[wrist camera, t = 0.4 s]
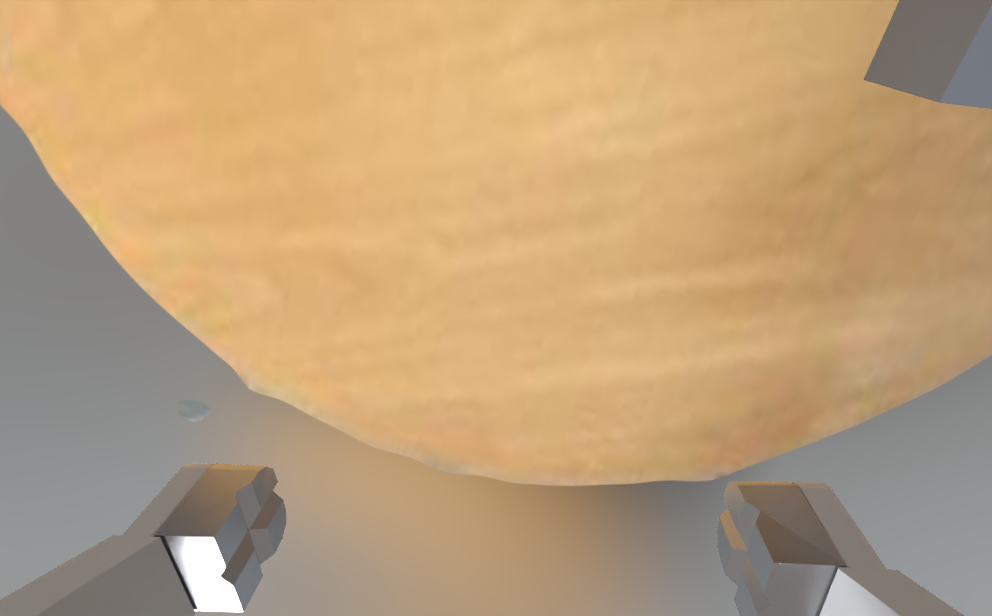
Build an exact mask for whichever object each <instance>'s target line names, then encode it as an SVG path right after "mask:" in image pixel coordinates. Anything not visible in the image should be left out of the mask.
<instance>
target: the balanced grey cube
mask: <svg viewBox="0 0 992 616" xmlns="http://www.w3.org/2000/svg"><path fill="white" fill-rule="evenodd" d="M864 80H866V81H870V82H873V83H876V84H880V85H883V86H886V87H890V88H893V89H896V90H899V91H903V92H906V93H909V94H913V95H916V96H919V97H923V98H926V99H929V100H933V101H936V102H939V103H948V104H956V105H964V106H973V107H981V108H989V109H992V0H900V1H899V3H898V6H897V8H896V10H895V12H894V14H893V17H892V19H891V21H890V23H889V25H888V28H887V30H886V32H885V34H884V36H883V39H882V41H881V43H880V45H879V47H878V50H877V52H876V54H875V56H874V58H873V61H872V63H871V65H870V67H869V69H868V72H867V74H866V76H865V78H864Z"/></svg>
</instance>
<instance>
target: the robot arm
mask: <svg viewBox="0 0 992 616" xmlns="http://www.w3.org/2000/svg"><path fill="white" fill-rule="evenodd" d="M277 483H278V481H277V479H276V476H275V473H274V470H273V469H272V468H269V467H265V466H248V465H231V464H204V463H190V464H188V465H185V466H183V467H182V468H181V469H180V470H179V471H178V472H177V473H176V474H175V475H174V477H173V478H172V479H171V480H170V481H169V482H168V483H167V485H166V486H165V487H164V488H163V489H162V490H161V491H160V493H159V494H158V495H157V496H156V497H155V498H154V499H153V500H152V502H151V503H150V504H149V505H148V506H147V507H146V509H145V510H144V511H143V512H142V513H141V514H140V515H139V516H138V518H137V519H136V520H135V521H134V522H133V523H132V524H131V526H130V527H129V528H128V529H127V530H126V531H125V532H124V534H123V535H113V536H111V537H109V538H107V539H106V540H104V541H102V542H100V543H99V544H97V545H95V546H94V547H92V548H90V549H88V550H86V551H85V552H83V553H82V554H79V555H78V556H76V557H74V558H72V559H71V560H69V561H67V562H65V563H64V564H62V565H60V566H58V567H57V568H55V569H53V570H52V571H50V572H48V573H46V574H45V575H43V576H41V577H39V578H37V579H36V580H34V581H32V582H30V583H29V584H27V585H25V586H24V587H22V588H20V589H18V590H17V591H15V592H13V593H11V594H10V595H8V596H6V597H4V598H3V599H1V600H0V616H194V615H195V611H224V612H226V611H227V612H244V610H245V608H246V606H247V604H248V603H249V601H250V599H251V597H252V595H253V593H254V591H255V590H256V588H257V586H258V584H259V582H260V580H261V578H262V576H263V574H262V569H261V563H263V562H264V561H265V560H267V559H268V558H269V557H271V556H272V555H273V554H275V552H276V550H277V548H278V546H279V544H280V542H281V540H282V537H283V533H284V529H285V525H286V508H285V505H284V501H283V499H281V498H280V497H279V496H278V495H277V494H276V493H275V492H273V489H274V488H275V486H276V484H277ZM724 500H725V502H726V505H727V507H728V510H727V511H725V512H724V513H723V514H722V515H720V516H719V521H718V527H717V545H718V546H717V547H718V552H719V556H720V560H721V563H722V566H723V569H724V572H725V574H726V575H727V576H728V577H729V578H730V579H731V580H732V581H733V582H734V583H735V584H737V586H738V588H737V592H736V596H735V603H736V606H737V608H738V611H739V614H740V616H964V615H962V614H961V613H959V612H958V611H956V610H955V609H953V608H952V607H951V606H949V605H947V604H946V603H945V602H943V601H942V600H940V599H939V598H937V597H936V596H934V595H933V594H932V593H930V592H929V591H927V590H926V589H924V588H923V587H921V586H920V585H919V584H917V583H916V582H914V581H913V580H911V579H910V578H908V577H907V576H905V575H904V574H902V573H901V572H900V571H898V570H889V569H886V567H885V566H884V564H883V563H882V561H881V560H880V559H879V557H878V556H877V554H876V553H875V551H874V550H873V548H872V547H871V545H870V544H869V542H868V541H867V540H866V538H865V537H864V535H863V534H862V532H861V531H860V529H859V528H858V527H857V525H856V524H855V522H854V521H853V519H852V518H851V516H850V515H849V513H848V512H847V510H846V509H845V508H844V506H843V505H842V503H841V502H840V500H839V499H838V497H837V496H836V494H835V493H834V492H833V490H832V489H831V488H830V487H829V486H828V485H826V484H825V483H801V482H800V483H799V482H797V483H796V482H792V483H788V482H752V481H730V482H729V484H728V485H727V487H726V490H725V494H724Z"/></svg>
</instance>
